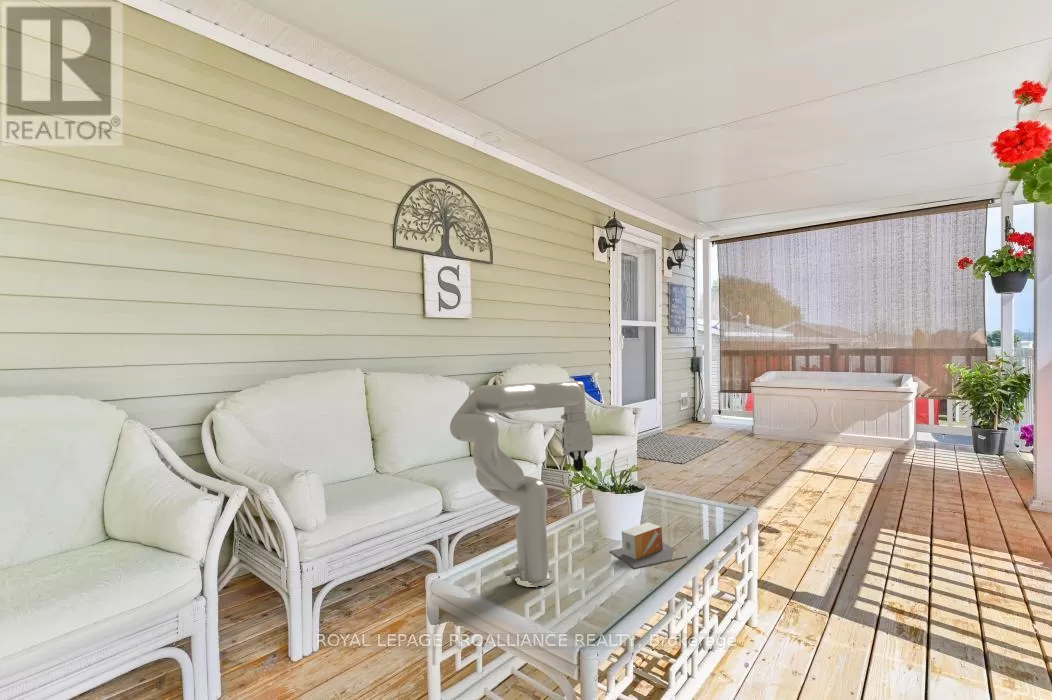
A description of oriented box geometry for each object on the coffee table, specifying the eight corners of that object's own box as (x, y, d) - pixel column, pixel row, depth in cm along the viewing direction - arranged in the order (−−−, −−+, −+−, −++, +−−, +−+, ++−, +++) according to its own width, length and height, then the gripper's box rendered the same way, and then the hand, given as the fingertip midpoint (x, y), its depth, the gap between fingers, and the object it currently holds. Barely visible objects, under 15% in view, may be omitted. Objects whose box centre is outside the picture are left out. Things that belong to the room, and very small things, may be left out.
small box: (634, 535, 167) (661, 526, 174) (620, 530, 173) (647, 521, 180) (636, 560, 167) (663, 549, 174) (622, 554, 173) (649, 544, 180)
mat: (634, 569, 161) (634, 567, 161) (609, 551, 176) (609, 550, 176) (687, 557, 168) (687, 555, 168) (659, 541, 183) (659, 540, 183)
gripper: (559, 420, 170) (563, 475, 170) (599, 416, 175) (603, 469, 175) (551, 418, 177) (554, 471, 177) (589, 414, 182) (593, 465, 182)
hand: (578, 470), depth 176 cm, fingers closed
